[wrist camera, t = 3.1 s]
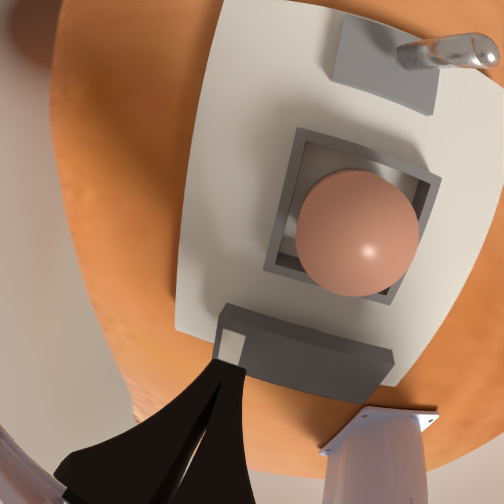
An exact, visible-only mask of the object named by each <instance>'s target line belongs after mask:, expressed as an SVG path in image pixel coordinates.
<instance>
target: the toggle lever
mask: <svg viewBox="0 0 504 504" xmlns="http://www.w3.org/2000/svg"><path fill="white" fill-rule="evenodd" d="M394 59H395V62H396V63H397V64H398V66H400V67H401V68H402V69H404V70H407V71H416V70H429V69H452V68H473V69H493V68H495V67H496V66H498V64H499V62H500V52H499V49H498V47H497V45H496V44H495V42H494V41H493V40H492V39H491V38H490V37H488V36H487V35H485V34H482V33H477V32H475V33H464V34H456V35H448V36H442V37H436V38H430V39H425V40H420V41H415V42H410V43H406V44H402V45H399V46H397V47H396V48H395V50H394Z"/></svg>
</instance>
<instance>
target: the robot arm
mask: <svg viewBox="0 0 504 504" xmlns="http://www.w3.org/2000/svg"><path fill="white" fill-rule="evenodd" d="M246 372H247V371H246V369H245V368H242V367H239V366H236V365H233V364H230V363H227V362H224V361H221V360H218V359H212V360H211V361H210V363H209V364H208V365H207V367H206V368H205V369H204V370H203V371H202V373H201V374H200V375H199V376H198V377H197V378H196V379H195V380H194V381H193V382H192V383H191V384H190V385H189V386H188V387H187V388H186V389H185V390H184V391H183V392H182V393H181V394H179V395H178V396H177V397H176V398H175V399H174V400H172V401H171V402H170V403H169V404H167V405H166V406H165V407H164V408H162V409H161V410H160V411H158V412H157V413H155V414H154V415H153V416H151V417H150V418H148V419H147V420H145V421H143V422H142V423H140V424H138V425H137V426H135V427H133V428H131V429H130V430H128V431H126V432H124V433H122V434H120V435H118V436H116V437H113V438H111V439H109V440H106V441H104V442H102V443H100V444H97V445H94V446H91V447H88V448H84V449H81V450H78V451H75V452H72V453H70V454H69V455H68V456H67V457H66V458H65V459H64V460H63V461H62V462H61V463H60V465H59V466H58V468H57V469H56V471H55V472H54V474H53V475H54V477H55V478H56V479H57V480H58V481H59V482H58V481H57V480H56V479H55V478H53V477H52V476H51V475H50V474H49V473H47V472H46V471H45V470H44V469H43V468H41V467H40V466H39V465H38V464H37V463H36V462H35V461H34V460H33V459H31V458H30V457H29V456H28V455H27V454H26V453H25V452H24V451H23V450H22V449H21V448H20V447H19V446H18V445H17V444H16V443H15V442H14V439H13V438H12V437H11V436H10V435H9V434H8V433H7V432H6V430H5V429H4V428H3V427H2V426H1V425H0V499H1V501H2V502H3V503H4V504H64V503H63V501H64V502H66V503H67V504H256V503H255V499H254V496H253V492H252V488H251V484H250V480H249V475H248V470H247V465H246V459H245V452H244V443H243V431H242V396H243V386H244V380H245V376H246ZM438 417H439V412H437V411H415V410H401V409H390V408H381V407H372V406H367V407H364V408H363V409H361V411H360V412H359V413H358V414H357V415H356V416H355V417H354V418H353V419H352V420H351V421H350V422H349V423H348V424H347V425H346V426H345V427H344V428H343V429H342V430H341V431H340V432H339V433H338V434H337V435H336V436H335V437H334V438H333V439H332V440H331V441H330V442H329V443H328V444H326V445H325V446H324V447H323V448H322V449H321V450H320V452H319V454H320V455H324V456H328V460H327V469H326V478H325V486H324V493H323V500H322V504H428V493H427V477H426V465H425V456H424V447H423V440H422V433H421V432H422V431H423V430H424V429H426V428H427V427H428V426H429V425H430V424H431V423H432V422H434V421H435V420H436V419H437V418H438ZM206 428H207V429H206ZM205 430H206V432H205ZM204 432H205V434H204ZM203 434H204V436H203ZM202 436H203V438H202ZM201 438H202V440H201ZM200 440H201V442H200V445H199V447H198V449H197V451H196V453H195V455H194V457H193V459H192V461H191V463H190V466H189V468H188V470H187V472H186V474H185V476H184V477H183V475H184V473H185V470H186V468H187V465H188V463H189V461H190V458H191V456H192V455H193V452H194V451H195V449H196V447H197V445H198V443H199V441H200ZM182 477H183V479H182ZM181 480H182V481H181ZM60 482H61V483H62V484H63V485H62V484H61V483H60ZM180 482H181V483H180ZM65 486H66V487H67V488H66V487H65Z"/></svg>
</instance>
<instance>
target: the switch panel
mask: <svg viewBox="0 0 504 504" xmlns="http://www.w3.org/2000/svg"><path fill="white" fill-rule="evenodd" d="M420 40H423V39H421V38H418V37H416V36H414V35H412V34H409V33H407V32H405V31H402V30H400V29H397V28H395V27H392V26H389V25H387V24H384V23H381V22H378V21H375V20H372V19H369V18H366V17H362V16H359V15H356V14H352V13H348V12H344V11H340V10H336V9H332V8H328V7H323V6H318V5H312V4H307V3H300V2H294V1H286V0H224V3H223V6H222V9H221V13H220V16H219V20H218V23H217V27H216V30H215V34H214V38H213V42H212V46H211V50H210V54H209V58H208V62H207V66H206V71H205V75H204V80H203V84H202V89H201V94H200V99H199V104H198V109H197V115H196V120H195V126H194V131H193V137H192V144H191V150H190V156H189V163H188V170H187V177H186V185H185V193H184V201H183V210H182V220H181V230H180V241H179V253H178V267H177V283H176V304H175V330H178V331H181V332H183V333H186V334H189V335H191V336H194V337H197V338H200V339H202V340H205V341H208V342H211V343H214V342H215V336H216V329H217V323H218V317H219V314H220V313H221V311H222V309H223V308H224V306H225V304H226V303H230V304H233V305H236V306H239V307H242V308H245V309H248V310H251V311H254V312H258V313H261V314H264V315H267V316H270V317H273V318H277V319H280V320H283V321H286V322H290V323H293V324H296V325H300V326H303V327H307V328H310V329H314V330H317V331H321V332H324V333H328V334H332V335H335V336H339V337H343V338H347V339H350V340H354V341H358V342H362V343H366V344H370V345H374V346H378V347H383V348H387V349H391V350H392V352H393V357H394V362H395V365H394V367H393V368H392V369H391V371H390V372H389V373H388V375H387V376H386V377H385V378H384V380H383V381H382V382H381V383H380V385H385V386H392V387H395V386H396V385H397V384H398V383H399V382H400V380H401V379H402V378H403V377H404V376H405V374H406V373H407V372H408V370H409V369H410V368H411V367H412V365H413V364H414V363H415V361H416V360H417V359H418V357H419V356H420V355H421V353H422V352H423V351H424V349H425V348H426V346H427V345H428V343H429V342H430V341H431V339H432V338H433V336H434V335H435V333H436V332H437V330H438V328H439V327H440V325H441V324H442V322H443V321H444V319H445V317H446V316H447V314H448V312H449V311H450V309H451V307H452V306H453V304H454V302H455V300H456V299H457V297H458V295H459V293H460V291H461V289H462V288H463V286H464V284H465V282H466V280H467V278H468V276H469V274H470V272H471V270H472V268H473V265H474V263H475V261H476V259H477V257H478V254H479V252H480V250H481V248H482V245H483V243H484V240H485V238H486V235H487V233H488V230H489V227H490V225H491V222H492V219H493V216H494V213H495V210H496V207H497V204H498V201H499V198H500V194H501V191H502V187H503V184H504V89H503V88H502V87H500V86H499V85H498V84H496V83H495V82H494V81H492V80H491V79H490V78H488V77H487V76H485V75H484V74H482V73H481V72H479V71H478V70H476V69H473V68H452V69H429V70H416V71H407V70H404V69H402V68H401V67H400V66H398V64H397V63H396V62H395V59H394V50H395V48H396V47H397V46H399V45H402V44H406V43H410V42H415V41H420ZM344 168H359V169H364V170H368V171H370V172H372V173H375V174H376V175H378V176H380V177H381V178H383V179H384V180H386V181H388V182H389V183H391V184H392V185H394V186H395V187H397V188H398V189H399V190H400V191H401V192H402V193H403V194H404V195H405V196H406V197H407V199H408V200H409V202H410V203H411V205H412V207H413V209H414V211H415V213H416V216H417V220H418V225H419V243H418V247H417V252H416V254H415V257H414V259H413V261H412V263H411V265H410V267H409V268H408V270H407V271H406V272H405V274H404V275H403V276H402V277H401V278H400V279H399V280H398V281H397V282H395V283H394V284H393V285H391V286H390V287H388V288H386V289H384V290H383V291H380V292H378V293H375V294H371V295H367V296H360V297H351V296H343V295H339V294H336V293H333V292H330V291H328V290H326V289H324V288H323V287H321V286H320V285H318V284H317V283H316V282H315V281H314V280H313V279H312V278H311V277H310V276H309V275H308V274H307V272H306V271H305V269H304V268H303V266H302V264H301V262H300V259H299V256H298V253H297V248H296V229H297V224H298V219H299V215H300V210H301V206H302V203H303V200H304V198H305V196H306V194H307V192H308V191H309V189H310V188H311V187H312V186H313V185H314V183H315V182H317V181H318V180H319V179H320V178H321V177H323V176H325V175H326V174H328V173H330V172H333V171H336V170H339V169H344Z"/></svg>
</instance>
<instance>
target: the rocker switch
mask: <svg viewBox="0 0 504 504" xmlns="http://www.w3.org/2000/svg"><path fill="white" fill-rule="evenodd" d="M212 359H218V360H221V361H224V362H227V363H230V364H233V365H236V366H239V367H242V368H245V369H246V371H247V372H246V375H247V376H250V377H253V378H256V379H260V380H263V381H266V382H269V383H273V384H276V385H280V386H283V387H287V388H290V389H294V390H298V391H302V392H306V393H310V394H314V395H318V396H322V397H327V398H331V399H336V400H341V401H346V402H351V403H357V404H362V405H363V404H364V402H365V401H366V400H367V399H368V398H369V397H370V395H371V394H372V393H373V392H374V391H375V390H376V388H377V387H378V386H379V385H380V383H381V382H382V381H383V380H384V378H385V377H386V376H387V375H388V373H389V372H390V371H391V369H392V368H393V367H394V365H395V362H394V357H393V352H392V350H391V349H387V348H383V347H378V346H374V345H370V344H366V343H362V342H358V341H354V340H350V339H347V338H343V337H339V336H335V335H332V334H328V333H324V332H321V331H317V330H314V329H310V328H307V327H303V326H300V325H296V324H293V323H290V322H286V321H283V320H280V319H277V318H273V317H270V316H267V315H264V314H261V313H258V312H254V311H251V310H248V309H245V308H242V307H239V306H236V305H233V304H230V303H226V304H225V306H224V308H223V309H222V311H221V313H220V314H219V317H218V323H217V329H216V336H215V342H214V348H213V355H212Z"/></svg>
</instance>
